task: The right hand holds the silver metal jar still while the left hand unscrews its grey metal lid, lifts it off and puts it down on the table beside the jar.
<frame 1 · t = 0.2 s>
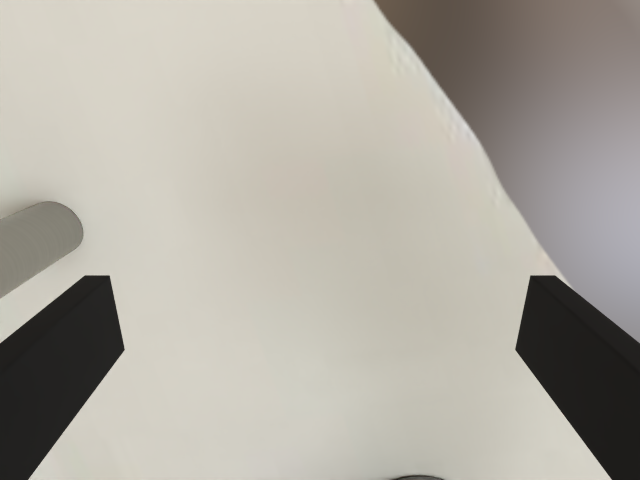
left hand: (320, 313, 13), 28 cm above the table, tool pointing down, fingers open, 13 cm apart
jar: (55, 227, 41), on the table
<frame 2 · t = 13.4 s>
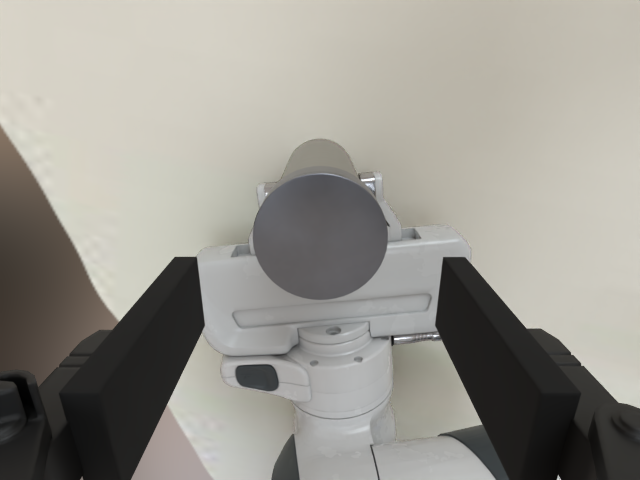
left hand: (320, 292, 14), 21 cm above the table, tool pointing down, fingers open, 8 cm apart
right hand: (318, 178, 27), fingers closed on jar, 5 cm apart
jar: (320, 172, 34), on the table, touching right hand
lid: (320, 237, 19), point 16 cm above the table, screwed on, not yet turned
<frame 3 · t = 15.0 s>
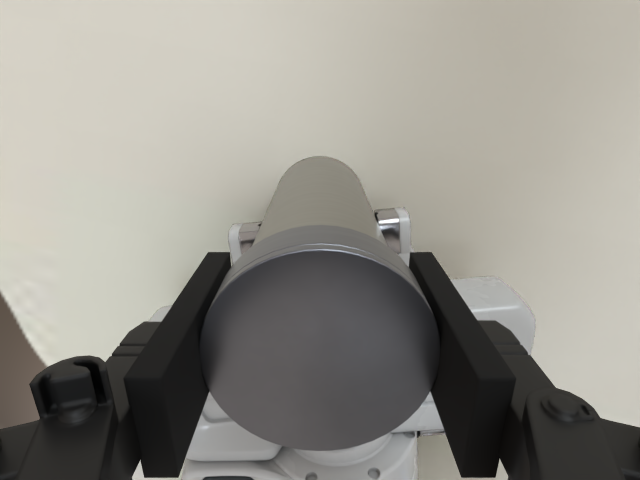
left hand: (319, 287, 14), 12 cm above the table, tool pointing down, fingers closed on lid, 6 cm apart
jar: (319, 200, 26), on the table, touching right hand
lid: (319, 352, 11), point 16 cm above the table, screwed on, not yet turned, touching left hand
when the left hand's fingers open (12 cm above the table, at t = 16.5 s): lid stays where it is, point 16 cm above the table.
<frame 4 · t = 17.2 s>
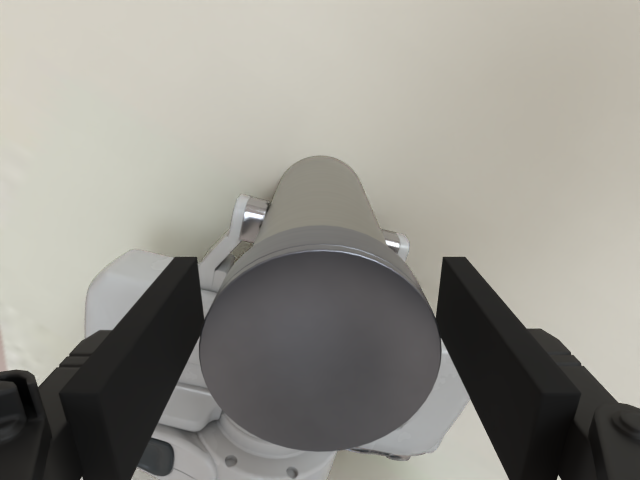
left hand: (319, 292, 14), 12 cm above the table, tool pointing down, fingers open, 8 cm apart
jar: (320, 199, 26), on the table, touching right hand
lid: (320, 353, 11), point 16 cm above the table, turned 110° so far, risen 0.3 cm, still on its thread
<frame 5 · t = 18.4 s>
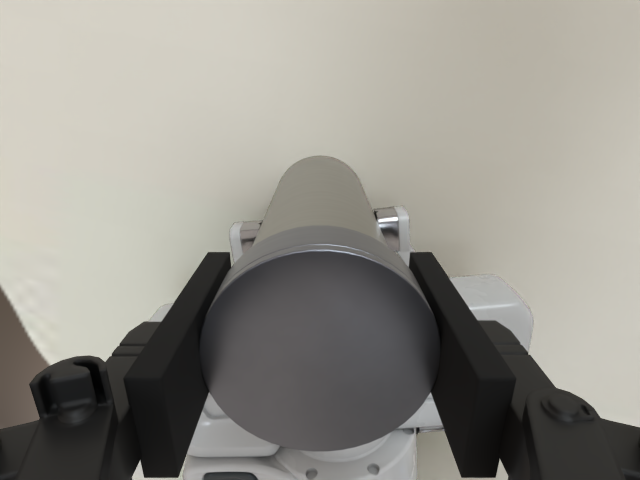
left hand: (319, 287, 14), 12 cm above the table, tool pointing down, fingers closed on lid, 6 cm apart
jar: (319, 199, 26), on the table, touching right hand
lid: (319, 353, 11), point 16 cm above the table, turned 110° so far, risen 0.3 cm, still on its thread, touching left hand
when the left hand's fingers open (0 cm above the table, at t = 25.4 s): lid drops 3 cm, point 1 cm above the table.
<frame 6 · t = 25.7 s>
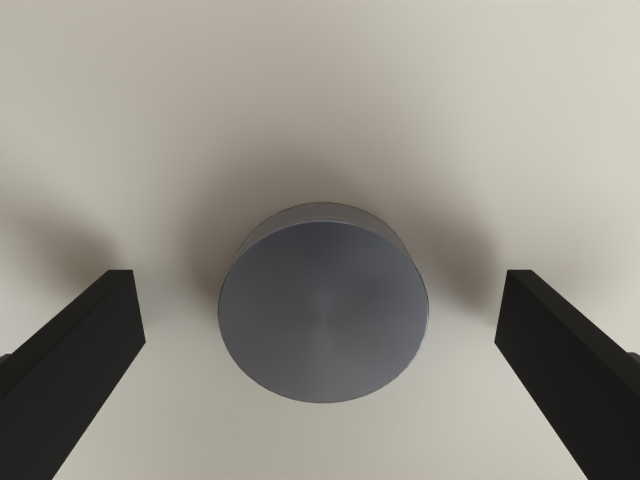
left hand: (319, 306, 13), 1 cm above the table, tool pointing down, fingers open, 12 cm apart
lid: (323, 314, 12), point 1 cm above the table, off its thread
when the right hand's fingers open (7 cm above the table, at t = 26.6 s): jar stays where it is, on the table.
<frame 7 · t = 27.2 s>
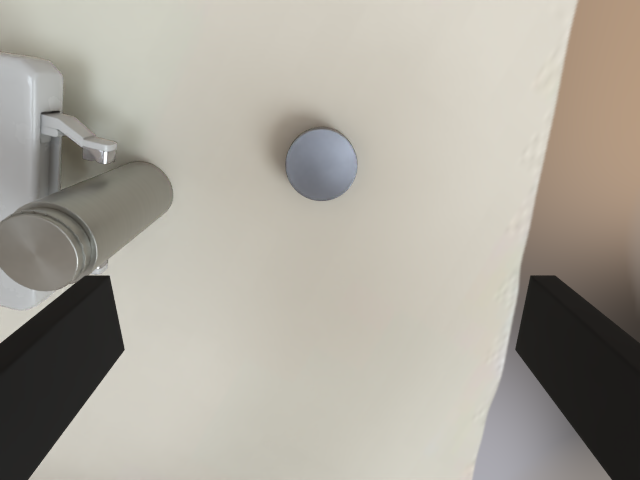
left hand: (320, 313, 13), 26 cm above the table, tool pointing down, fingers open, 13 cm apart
jar: (143, 190, 38), on the table
lid: (321, 165, 36), point 1 cm above the table, off its thread
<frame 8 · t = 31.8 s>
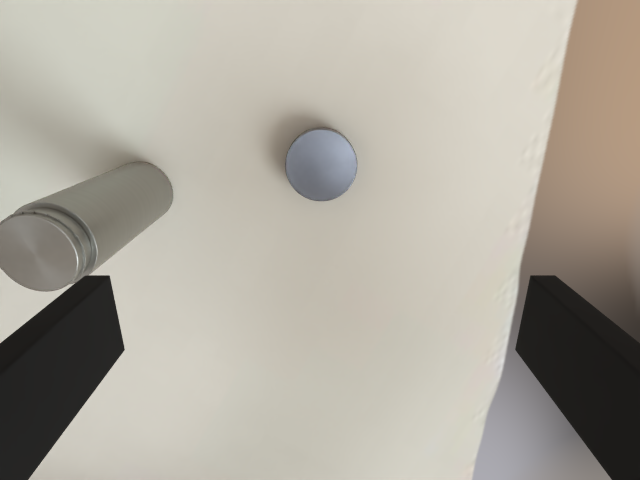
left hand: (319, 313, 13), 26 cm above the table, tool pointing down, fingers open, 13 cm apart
jar: (143, 191, 38), on the table
lid: (321, 165, 36), point 1 cm above the table, off its thread
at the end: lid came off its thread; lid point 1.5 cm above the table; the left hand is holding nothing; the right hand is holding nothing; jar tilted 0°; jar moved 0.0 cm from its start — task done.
